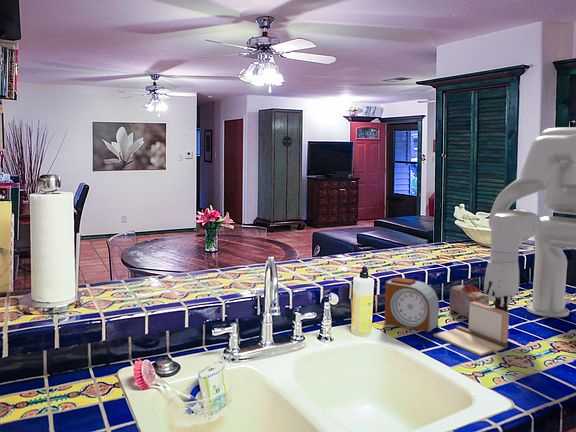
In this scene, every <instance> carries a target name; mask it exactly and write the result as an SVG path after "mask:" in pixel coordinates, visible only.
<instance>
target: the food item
mask: <svg viewBox="0 0 576 432" xmlns="http://www.w3.org/2000/svg"><path fill="white" fill-rule="evenodd" d="M449 290H450V291H449V302H448V303H449V306H448V308H449V311H453V312H455V313H457V314H458V316H459V317H464V318H468V319H469V303H470V302H474V301H475V302H478V303H481V304H484V305H487V306H490V301H489V300H488V294H485V293H484V292H483V293H482V292H480V291H479V288H478V287H476V285H470V284H467V285H460V284H459V285H453V286H451V287H450V288H449Z"/></svg>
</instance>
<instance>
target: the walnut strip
mask: <svg viewBox="0 0 576 432" xmlns="http://www.w3.org/2000/svg"><path fill="white" fill-rule="evenodd" d="M455 329H459V330H461V331H464V332H466V333H469V334H472V335H474V336H477V337H479V338H482V339H484V340H487V341H490V342H492V343H495V344H497V345H500V346H502V347H504V349H503V350H506V348H507V349H508V346H509V344H508V343H507V344H506V343H504V342H501V341H498V340H496V339H493V338H490V337H488V336H485V335H483V334H480V333H477V332H475V331H472V330H469V329H468V328H466V327H464V326H462V325H457V326H456V327H455Z"/></svg>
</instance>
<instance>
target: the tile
mask: <svg viewBox="0 0 576 432" xmlns="http://www.w3.org/2000/svg"><path fill="white" fill-rule="evenodd" d="M509 319H510V312H509V311H508V312H506V311H503V310H500V309H497V308H495V306H490V305H488V306H487V305H484V304H481V303H478V302H475V301H474V302H470V303H469V318H468V325H467V326H468V328H467V329H469V330H472V331H475V332H477V333H480V334H483V335H485V336H488V337H490V338H493V339H496V340H498V341H501V342H504V343H507V344H508V338H509V337H508V335H509V322H510V320H509Z"/></svg>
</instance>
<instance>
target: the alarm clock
mask: <svg viewBox="0 0 576 432" xmlns="http://www.w3.org/2000/svg"><path fill="white" fill-rule="evenodd" d="M384 301H385V304H384V322H385V323H386V324H389V325H393V326H398V327H402V328H408V329H413V330H418V331H421V332H427V333H430V332H432V330H434V328H436V327H437V326H438V325H439V314H440V313H439V312H440V311H439V309H440V304H439V303H440V302H439V301H440V300H439V298H438V294H437V293H436V291H435V289H434V288H432V286H430V285H429V284H427V283H426V282H423V281H421V280H416V279H412V278H406V277H405V278H404V277H398V276H396V277H394V278H391V279H388V280H387V281H386V282H385V300H384Z"/></svg>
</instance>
